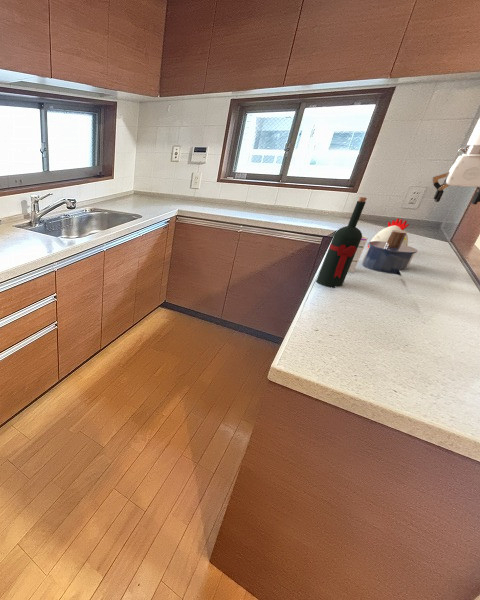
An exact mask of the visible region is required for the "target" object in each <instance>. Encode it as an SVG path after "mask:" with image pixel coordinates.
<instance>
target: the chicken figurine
mask: <svg viewBox="0 0 480 600" xmlns="http://www.w3.org/2000/svg"><path fill="white" fill-rule="evenodd" d="M407 222H408V220H404V219H402V218H401V219H400V218H396V220H395V219H393V220H392V221H388V222H387V227H385V228H382V229H381V230H380V231H379V232H377V233H376V234H375V235H374V236H373V237H372V239H371V240H370V241H369V242H371V241H383V242H387V241H388V238H389V236H390V234H391V232H392V230H399V231H404V232H407V231H406V228H408V227H409V226H410V224H409V223H407ZM402 245H406V246H409V236H408V233H407V234H406V236H405V238H404V240H403V242H402ZM367 247H368V248H369V244H367ZM368 248H367V249H368Z"/></svg>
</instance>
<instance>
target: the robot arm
mask: <svg viewBox="0 0 480 600" xmlns="http://www.w3.org/2000/svg"><path fill="white" fill-rule="evenodd" d="M457 152H458V153H461V155H459V156H458V157H457V158H456V159H455V160H454V162H453V164H452V165H451V167H450V169H449V170H448V172H445V173H442V174H439V175H435V176H432V177H431V181H432V185H433V187H434V188H435V189H436V192H435V194H434V196H433V200H434V202H435V203H439V202H440V201H441V199H442V196H443V194H444V192H445V191H444V190H445V189H446V188H448V187H450V186H451V187H469V188H477V190H478V191H476V192H475V194H474V195H473V197H472V200H471V201H470V204H472V205H476V206H477V205H478V203H480V117H479V118H478V120H477V122H476V124H475V126H474V128H473V131H472V132H471V135H470V137H469V139H468V141H467V143H466V145H465V146H462V147H459V148H458V149H457ZM441 179H444V180H443V183H442V184H440V183H439V180H441Z"/></svg>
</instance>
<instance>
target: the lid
mask: <svg viewBox="0 0 480 600" xmlns="http://www.w3.org/2000/svg"><path fill="white" fill-rule="evenodd" d="M406 234H407V235H408V232H407V231H406V232H404V231H399V230H392V232H391V234H390V236H389V238H388V241H387V242H383V241H371V240H370V241H371V242H370V241H369V242H368V245H370V246H371V247H374V248H377V249H380V250H384V251H389V252H395V253H405V254H414V253H415V254H417V253H418V249H417V248H416V247H412V246H409V245H408V246H406V245H402V242H403V240H404V238H405V236H406ZM415 254H414V255H415Z"/></svg>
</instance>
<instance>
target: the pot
mask: <svg viewBox="0 0 480 600" xmlns="http://www.w3.org/2000/svg"><path fill="white" fill-rule="evenodd" d="M368 245H369V244H368ZM415 254H416V253H414V254H405V253H395V252H389V251H384V250H380V249H377V248H374V247H371V246H370V245H369V248H367V250H366V252H365V255H364V257H363V260H362V262H361V266H362V267H364V268H367V269H369V270H371V271H372V270H373V271H376V272H381V273H385V274H392V275H401V273H402V272H400V271H405V270H407V269H408V268H409V266H410V264H411V262H412V260H413V259H414V256H415Z"/></svg>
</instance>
